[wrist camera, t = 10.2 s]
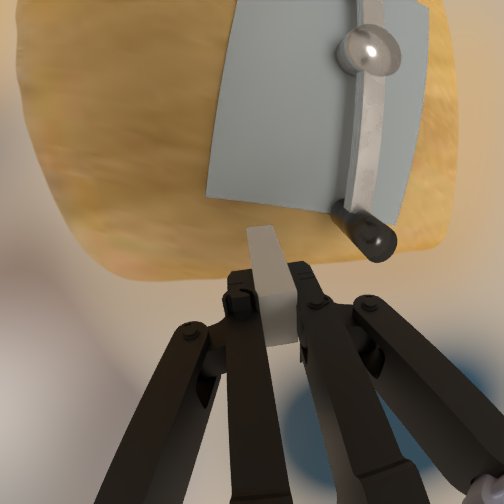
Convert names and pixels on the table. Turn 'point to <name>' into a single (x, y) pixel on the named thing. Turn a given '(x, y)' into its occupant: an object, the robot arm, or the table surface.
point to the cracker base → (311, 105)
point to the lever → (367, 129)
